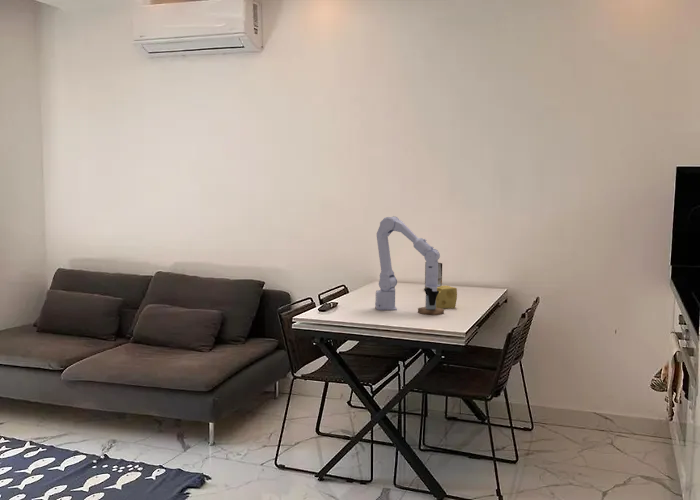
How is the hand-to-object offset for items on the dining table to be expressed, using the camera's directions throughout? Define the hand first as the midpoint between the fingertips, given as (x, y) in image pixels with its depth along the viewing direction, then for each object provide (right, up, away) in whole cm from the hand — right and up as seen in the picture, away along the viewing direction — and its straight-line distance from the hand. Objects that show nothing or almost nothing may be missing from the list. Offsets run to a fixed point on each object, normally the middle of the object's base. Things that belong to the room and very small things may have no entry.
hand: (431, 304), depth 313 cm
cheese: (+8, -3, +16) cm, 18 cm away
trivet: (0, -4, 0) cm, 4 cm away
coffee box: (+9, +2, +66) cm, 67 cm away
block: (0, -2, 0) cm, 2 cm away
